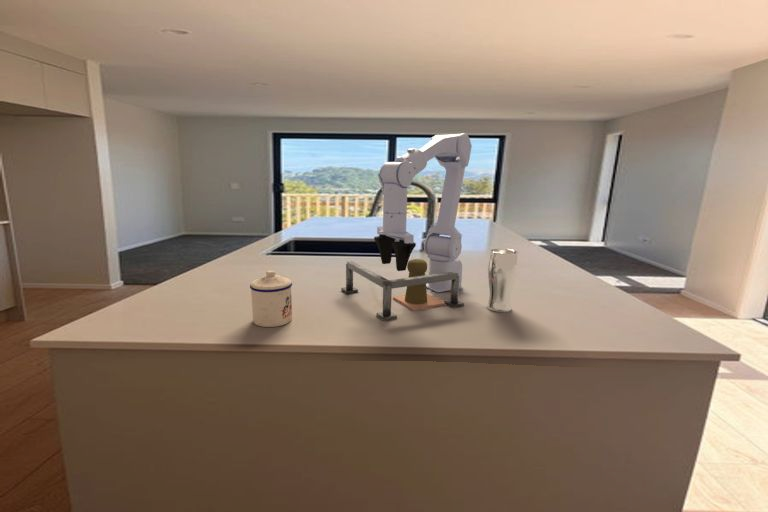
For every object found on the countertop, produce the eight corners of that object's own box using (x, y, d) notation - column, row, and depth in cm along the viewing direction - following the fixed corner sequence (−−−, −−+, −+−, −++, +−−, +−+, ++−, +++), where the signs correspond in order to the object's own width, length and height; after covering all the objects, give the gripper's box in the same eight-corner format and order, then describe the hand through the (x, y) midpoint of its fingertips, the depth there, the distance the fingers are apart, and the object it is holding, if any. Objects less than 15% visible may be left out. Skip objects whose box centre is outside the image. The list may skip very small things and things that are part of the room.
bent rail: (410, 280, 124) (411, 253, 122) (463, 306, 102) (465, 273, 100) (341, 290, 113) (341, 260, 111) (383, 321, 91) (384, 284, 89)
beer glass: (498, 314, 96) (503, 255, 93) (479, 305, 102) (483, 249, 99) (519, 310, 99) (524, 252, 96) (499, 302, 105) (504, 247, 102)
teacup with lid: (291, 327, 86) (290, 276, 84) (248, 329, 85) (245, 277, 82) (295, 308, 98) (293, 262, 95) (257, 309, 96) (254, 263, 94)
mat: (423, 294, 111) (423, 291, 111) (445, 304, 103) (445, 302, 102) (393, 298, 106) (393, 296, 106) (412, 310, 98) (413, 308, 98)
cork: (425, 305, 100) (426, 263, 98) (402, 302, 102) (403, 261, 99) (429, 298, 106) (431, 258, 103) (407, 295, 107) (408, 256, 105)
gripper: (366, 210, 100) (366, 262, 103) (395, 216, 87) (394, 275, 90) (391, 209, 103) (390, 259, 106) (422, 215, 91) (419, 272, 94)
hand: (393, 266), depth 98 cm, fingers open, 7 cm apart
